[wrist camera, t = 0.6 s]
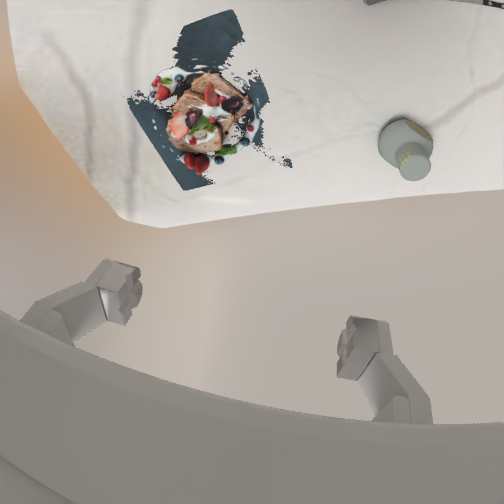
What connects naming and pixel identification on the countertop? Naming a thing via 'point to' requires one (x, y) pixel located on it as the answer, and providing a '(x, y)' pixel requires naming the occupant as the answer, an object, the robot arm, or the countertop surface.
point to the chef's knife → (483, 2)
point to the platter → (201, 102)
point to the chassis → (372, 1)
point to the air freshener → (406, 149)
